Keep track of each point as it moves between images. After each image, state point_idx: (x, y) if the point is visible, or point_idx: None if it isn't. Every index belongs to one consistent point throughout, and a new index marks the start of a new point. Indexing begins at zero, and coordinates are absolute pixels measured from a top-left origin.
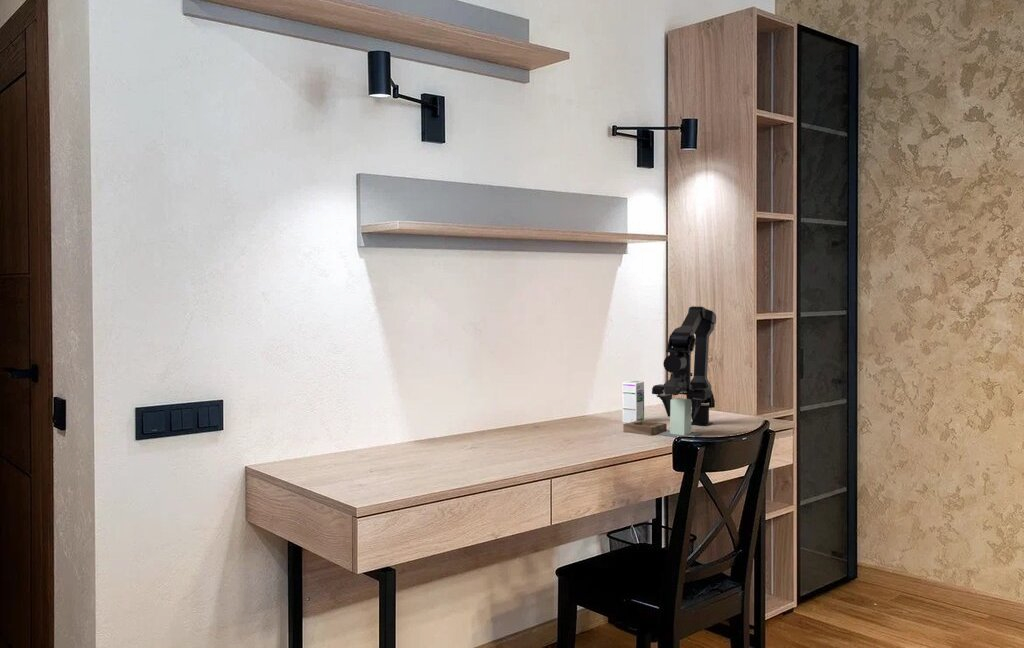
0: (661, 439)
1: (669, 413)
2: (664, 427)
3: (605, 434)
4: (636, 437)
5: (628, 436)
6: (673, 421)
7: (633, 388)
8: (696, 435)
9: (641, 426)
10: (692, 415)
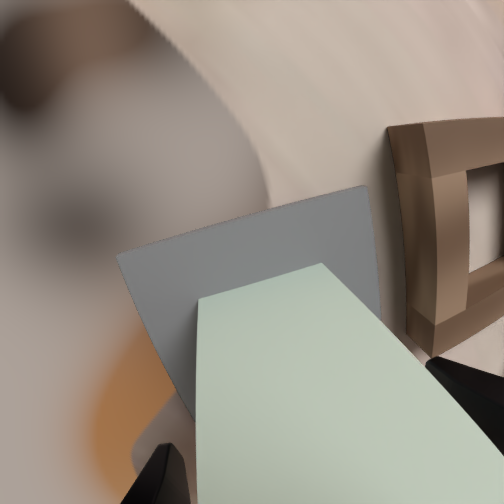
0: (226, 54)
1: (442, 385)
2: (421, 324)
3: (494, 5)
4: (384, 3)
5: (427, 7)
6: (330, 321)
7: None
8: (172, 377)
9: (481, 119)
10: (150, 471)
